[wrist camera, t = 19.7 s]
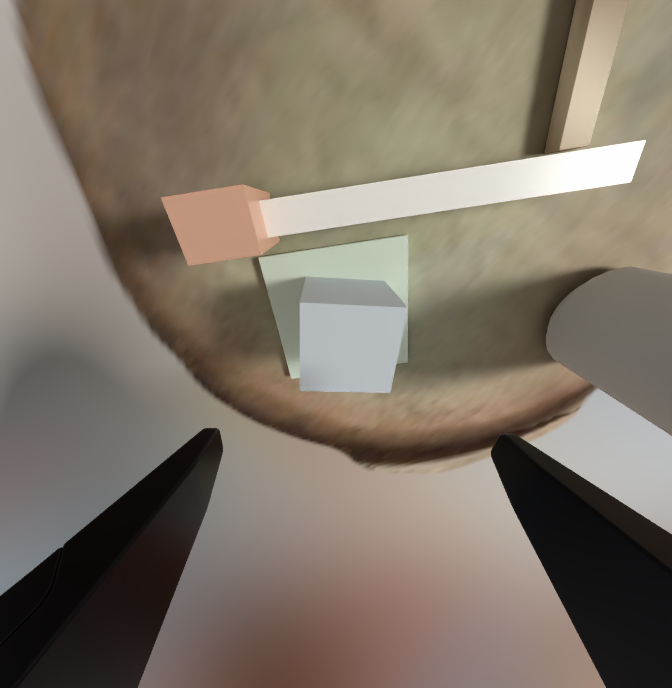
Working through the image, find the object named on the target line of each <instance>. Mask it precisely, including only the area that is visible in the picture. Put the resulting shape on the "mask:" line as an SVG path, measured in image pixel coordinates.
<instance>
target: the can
mask: <svg viewBox="0 0 672 688" xmlns="http://www.w3.org/2000/svg"><path fill="white" fill-rule="evenodd" d="M546 346H547V351H548V352H549V353H550V355H551V356H552V358H553V359H554V360H556V361H557V362H559V363H560V364H562V365H563V366H565V367H566V368H568V369H569V370H571V371H573V372H574V373H576V374H577V375H579V376H580V377H582V378H583V379H585V380H586V381H588V382H590V383H591V384H593V385H594V386H596V387H597V388H599V389H600V390H602V391H603V392H605V393H607V394H608V395H610V396H611V397H613V398H614V399H616V400H617V401H619V402H620V403H622V404H624V405H625V406H627V407H628V408H630V409H631V410H633V411H634V412H636V413H637V414H639V415H641V416H642V417H644V418H645V419H647V420H648V421H650V422H652V423H653V424H654V425H656V426H658V427H659V428H661V429H662V430H664V431H665V432H667V433H668V434H670V435H671V436H672V274H668V273H663V272H657V271H652V270H646V269H641V268H635V267H625V268H620V269H614V270H610V271H608V272H605V273H603V274H601V275H598V276H596V277H594V278H592V279H590V280H589V281H587V282H586V283H584V284H582V285H580V286H579V287H578V288H576V289H575V290H573V291H572V292H571V293H569V294H568V295H567V296H566V297H565V298H564V299H563V300H562V301H561V302H560V303H559V305H558V306H557V307H556V309H555V311H554V312H553V314H552V316H551V317H550V321H549V325H548V328H547V334H546Z"/></svg>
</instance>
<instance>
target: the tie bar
mask: <svg viewBox="0 0 672 688" xmlns="http://www.w3.org/2000/svg"><path fill="white" fill-rule="evenodd" d="M645 141H646V140H643V141H637V142H630V143H624V144H618V145H611V146H605V147H598V148H592V149H586V150H579V151H573V152H567V153H560V154H554V155H547V156H541V157H535V158H528V159H522V160H515V161H509V162H503V163H496V164H490V165H484V166H477V167H471V168H464V169H458V170H452V171H445V172H439V173H433V174H426V175H420V176H413V177H407V178H401V179H394V180H388V181H382V182H375V183H369V184H362V185H356V186H350V187H343V188H337V189H331V190H324V191H318V192H311V193H305V194H299V195H292V196H286V197H280V198H273V199H271V198H270V194H269V193H268V192H265V191H262V190H259V189H256V188H252V187H249V186H246V185H236V186H230V187H224V188H218V189H211V190H205V191H199V192H192V193H186V194H180V195H173V196H167V197H161V200H162V202H163V204H164V207H165V209H166V212H167V214H168V217H169V219H170V222H171V224H172V227H173V229H174V232H175V234H176V236H177V239H178V241H179V244H180V246H181V249H182V251H183V254H184V256H185V259H186V261H187V263H188V266H190V265H197V264H203V263H210V262H217V261H223V260H230V259H236V258H243V257H250V256H256V255H262V254H263V253H265V252H266V251H267V250H269V249H270V248H271V247H273V246H274V245H275V244H277V243H278V242H279V241H280V238H279V236H283V235H289V234H296V233H302V232H309V231H315V230H322V229H328V228H335V227H341V226H348V225H355V224H361V223H368V222H374V221H381V220H387V219H394V218H400V217H407V216H413V215H420V214H426V213H433V212H439V211H446V210H452V209H459V208H465V207H472V206H478V205H485V204H491V203H498V202H505V201H511V200H518V199H524V198H531V197H537V196H544V195H550V194H557V193H563V192H570V191H576V190H583V189H589V188H596V187H602V186H609V185H615V184H622V183H628V182H631V180H632V177H633V175H634V172H635V169H636V166H637V164H638V161H639V158H640V155H641V152H642V150H643V147H644V144H645Z"/></svg>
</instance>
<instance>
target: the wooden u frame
mask: <svg viewBox="0 0 672 688" xmlns="http://www.w3.org/2000/svg"><path fill="white" fill-rule="evenodd" d="M628 3H629V0H576V4H575V8H574V13H573V18H572V23H571V27H570V32H569V37H568V42H567V47H566V51H565V56H564V61H563V66H562V70H561V75H560V80H559V85H558V89H557V94H556V99H555V104H554V108H553V113H552V118H551V123H550V127H549V132H548V137H547V142H546V147H545V151H544V154H547V153H553V152H559V151H566V150H572V149H576V148H580V147H584V146H589V145H590V141H591V137H592V134H593V130H594V127H595V123H596V119H597V116H598V112H599V108H600V105H601V101H602V98H603V94H604V90H605V87H606V83H607V79H608V76H609V72H610V69H611V65H612V61H613V58H614V54H615V51H616V47H617V43H618V40H619V36H620V32H621V29H622V25H623V22H624V18H625V14H626V11H627V7H628Z"/></svg>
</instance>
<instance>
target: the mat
mask: <svg viewBox="0 0 672 688" xmlns="http://www.w3.org/2000/svg"><path fill="white" fill-rule="evenodd" d="M259 262H260V266H261V269H262V273H263V277H264V280H265V284H266V288H267V291H268V295H269V299H270V302H271V306H272V310H273V313H274V317H275V321H276V324H277V328H278V332H279V335H280V339H281V343H282V346H283V350H284V354H285V357H286V361H287V365H288V368H289V372H290V376H291V379H293V378H300V299H301V295H302V291H303V287H304V283H305V279H306V276H307V277H325V278H343V279H361V280H379V281H385V282H386V283H387V284H388V285H389V286H390V287H391V289H392V290H393V291H394V292H395V293H396V294H397V295H398V297H399V298H400V299H401V300H402V301H403V302H404V303H405V305H406V306H407V307H408V235H400V236H393V237H387V238H380V239H373V240H367V241H360V242H354V243H347V244H340V245H334V246H327V247H321V248H314V249H307V250H301V251H294V252H288V253H281V254H274V255H268V256H261V257H259ZM407 362H408V311H407V316H406V321H405V325H404V330H403V335H402V340H401V344H400V349H399V354H398V358H397V363H396V364H400V363H407Z"/></svg>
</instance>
